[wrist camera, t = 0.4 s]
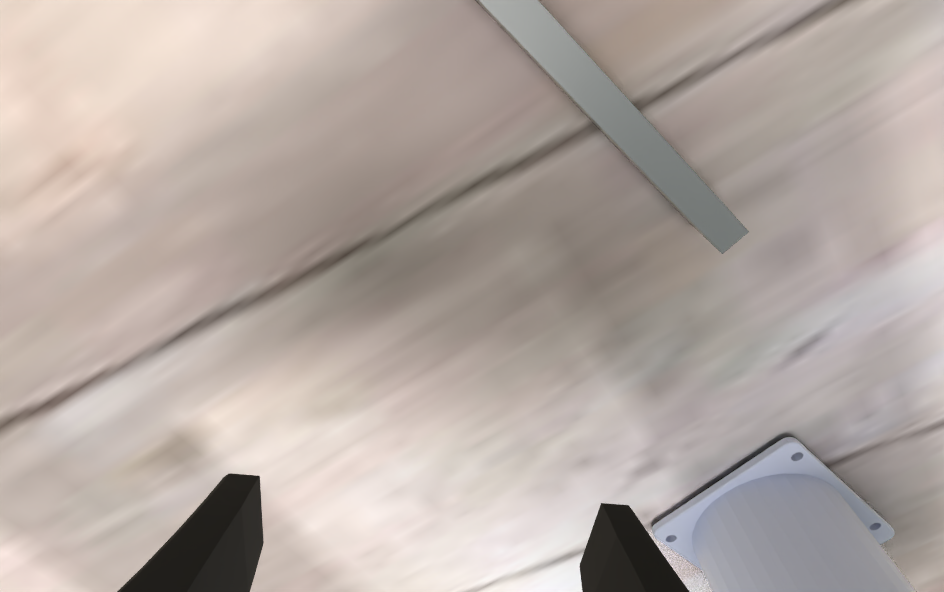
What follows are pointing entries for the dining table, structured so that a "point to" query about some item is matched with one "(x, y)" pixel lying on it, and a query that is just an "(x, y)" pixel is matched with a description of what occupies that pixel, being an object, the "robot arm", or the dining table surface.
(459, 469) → the dining table surface
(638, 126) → the frame
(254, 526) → the robot arm
